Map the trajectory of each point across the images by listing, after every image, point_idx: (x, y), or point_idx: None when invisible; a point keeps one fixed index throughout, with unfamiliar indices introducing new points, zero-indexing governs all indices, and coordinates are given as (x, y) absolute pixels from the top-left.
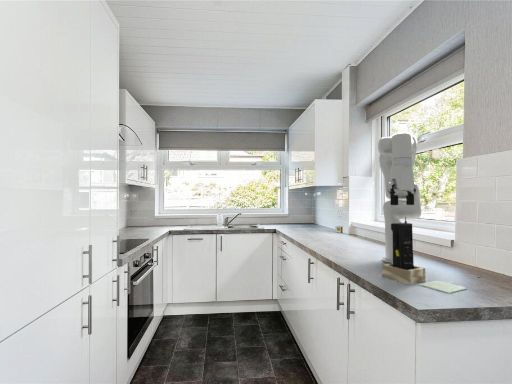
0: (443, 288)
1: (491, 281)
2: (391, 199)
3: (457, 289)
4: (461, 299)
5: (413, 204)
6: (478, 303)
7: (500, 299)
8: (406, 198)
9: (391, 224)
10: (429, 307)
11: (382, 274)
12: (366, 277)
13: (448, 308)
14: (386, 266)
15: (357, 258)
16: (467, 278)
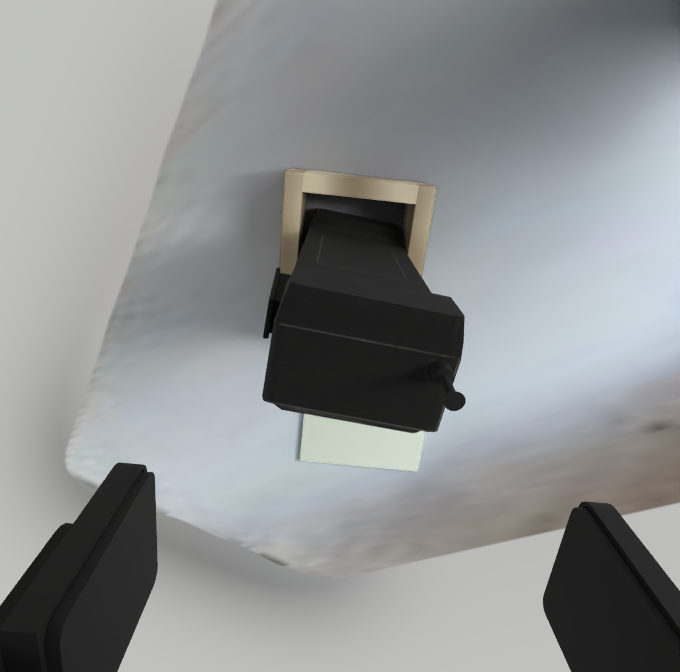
0: (334, 429)
1: (616, 476)
2: (29, 580)
3: (366, 460)
4: (274, 500)
5: (551, 610)
6: (280, 537)
7: (381, 555)
8: (644, 608)
9: (286, 288)
10: None
11: (291, 168)
12: (202, 123)
13: None
14: (284, 202)
15: None
16: (597, 411)
